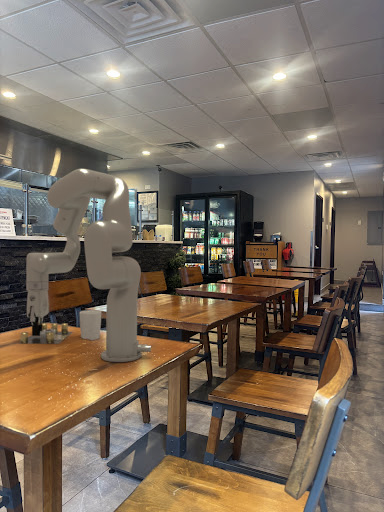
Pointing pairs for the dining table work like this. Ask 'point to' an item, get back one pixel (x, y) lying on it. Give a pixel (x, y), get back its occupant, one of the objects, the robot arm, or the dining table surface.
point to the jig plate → (44, 341)
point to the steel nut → (44, 332)
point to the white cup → (90, 324)
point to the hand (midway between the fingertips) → (37, 335)
